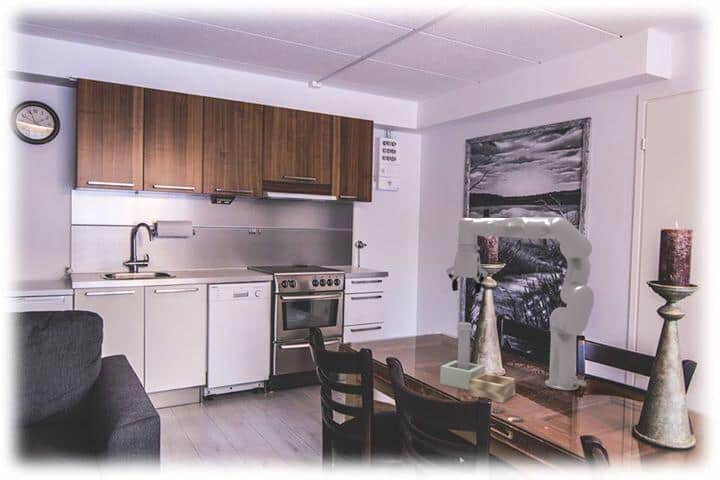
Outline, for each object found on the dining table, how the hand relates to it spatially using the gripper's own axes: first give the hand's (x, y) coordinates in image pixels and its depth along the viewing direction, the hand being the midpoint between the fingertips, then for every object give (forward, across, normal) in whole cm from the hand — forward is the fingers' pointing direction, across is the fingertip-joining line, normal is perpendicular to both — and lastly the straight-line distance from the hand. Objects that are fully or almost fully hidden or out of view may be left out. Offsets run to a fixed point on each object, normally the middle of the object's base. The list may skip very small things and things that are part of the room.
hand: (466, 291), depth 212 cm
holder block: (+37, 0, 0) cm, 37 cm away
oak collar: (+37, -14, +6) cm, 40 cm away
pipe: (+37, +1, 0) cm, 37 cm away
